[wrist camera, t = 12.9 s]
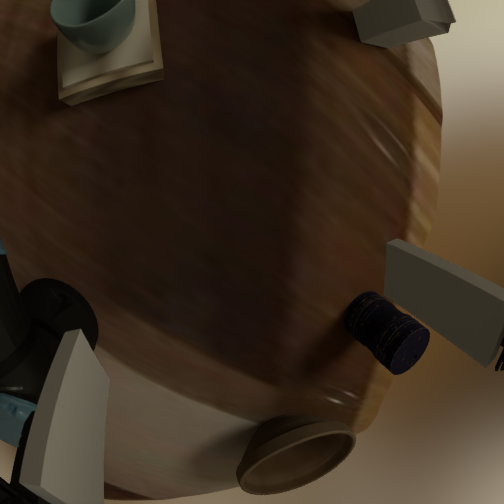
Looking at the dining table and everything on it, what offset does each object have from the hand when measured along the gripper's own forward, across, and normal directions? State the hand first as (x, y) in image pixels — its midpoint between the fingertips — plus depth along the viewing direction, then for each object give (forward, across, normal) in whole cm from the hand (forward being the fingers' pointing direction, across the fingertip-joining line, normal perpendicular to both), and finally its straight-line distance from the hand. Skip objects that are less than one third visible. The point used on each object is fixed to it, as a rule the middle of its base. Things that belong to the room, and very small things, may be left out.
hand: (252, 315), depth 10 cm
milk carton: (+29, -36, -27) cm, 53 cm away
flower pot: (+29, -7, +57) cm, 64 cm away
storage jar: (+29, -28, +28) cm, 49 cm away
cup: (+23, +7, -24) cm, 34 cm away
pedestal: (+29, +7, -24) cm, 38 cm away
